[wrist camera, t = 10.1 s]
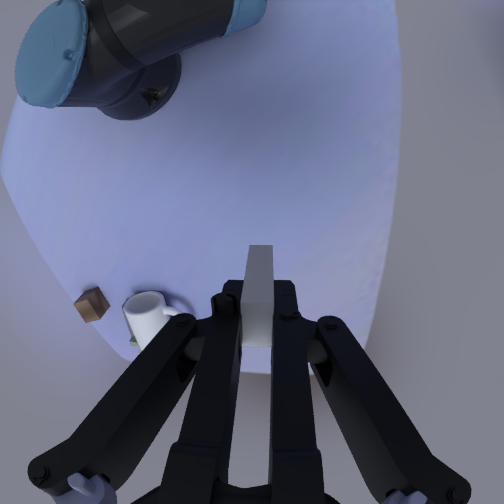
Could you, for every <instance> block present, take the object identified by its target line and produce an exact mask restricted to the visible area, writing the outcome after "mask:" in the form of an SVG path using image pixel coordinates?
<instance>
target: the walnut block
mask: <svg viewBox="0 0 504 504" xmlns="http://www.w3.org/2000/svg"><path fill="white" fill-rule="evenodd" d="M74 306H75V307H76V309H77V310H78V312H79V313H80V315H81V316H82V318H83V319H84V321H85V322H86V323H87V322H91V321H95V320H99V319H101V318H102V316H103V315H104V314H105V312H106V311H107V310H108V308H109V307H110V305H109V303H108V301H107V300H106V298H105V297H104V295H103V293H102V292H101V290H100V288H99V287H96V288H94V289H91V290H88V291H85V292H84V293H83V294H82V295H81V296H80V297H79V298H78V299H77V301H76V302H75V303H74Z"/></svg>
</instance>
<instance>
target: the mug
mask: <svg viewBox="0 0 504 504" xmlns="http://www.w3.org/2000/svg"><path fill="white" fill-rule="evenodd" d="M124 312H125V314H126V317H127V319H128V322H129V324H130V326H131V329H132V331H133V333H134V336H135V338H136V340H137V342H138V345H139V347H140V349H141V351H142V350H143V349H144V348H145V347H146V346H147V345H148V343H149V342H150V341H151V340H152V339H153V338H154V337H155V335H156V334H157V333H158V332H159V331H160V330H161V328H162V327H163V326H164V325H165V324H166V323H167V322H168V320H169V319H170V315H173V316H174V315H176V314H180V313H182V312H181V311H180V310H178V309H176V308H174V307H170V306H166V303H165V300H164V297H163V295H162V294H161V293H159V292H156V291H146V292H142V293H139V294H136V295H134V296H132V297H131V298H130V299H128V300H127V301H126V303H125V305H124Z"/></svg>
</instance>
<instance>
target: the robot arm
mask: <svg viewBox="0 0 504 504" xmlns="http://www.w3.org/2000/svg"><path fill="white" fill-rule="evenodd" d="M266 5H267V0H84V1H81V0H58V1H56V2H54V3H52V4H51V5H50V6H48V7H47V8H46V9H45V10H43V11H42V12H41V13H40V15H39V16H38V17H37V18H36V19H35V20H34V22H33V23H32V24H31V26H30V28H29V29H28V31H27V33H26V34H25V37H24V39H23V41H22V43H21V46H20V49H19V52H18V55H17V59H16V65H15V84H16V88H17V91H18V94H19V96H20V97H21V99H22V100H23V101H24V102H25V103H28V104H30V105H32V106H40V107H46V108H54V107H97V108H98V109H99V110H101V111H102V112H103V113H104V114H106V115H107V116H109V117H111V118H114V119H118V120H138V119H142V118H145V117H147V116H149V115H151V114H153V113H155V112H156V111H157V110H159V109H160V108H161V107H162V106H163V105H164V104H165V103H166V102H167V101H168V100H169V99H170V97H171V96H172V94H173V93H174V91H175V89H176V87H177V85H178V82H179V79H180V73H181V62H180V57H179V55H178V52H180V51H182V50H185V49H187V48H190V47H192V46H195V45H197V44H200V43H203V42H205V41H208V40H211V39H214V38H217V37H220V38H223V37H226V36H227V35H228V34H229V33H232V32H235V31H238V30H241V29H244V28H247V27H250V26H253V25H255V24H256V23H258V22H259V21H260V19H261V18H262V17H263V15H264V13H265V10H266ZM211 306H212V316H211V317H208V318H205V319H199V320H196V318H195V317H194V316H193V315H191V314H189V313H180V314H176V315H174V316H173V317H171V318H170V319H169V320H168V322H167V323H166V324H165V325H164V326H163V327H162V328H161V330H160V331H159V332H158V333H157V334H156V335H155V337H154V338H153V339H152V340H151V341H150V342H149V343H148V345H147V346H146V347H145V348H144V349H143V350H142V352H141V353H140V354H139V355H138V356H137V357H136V359H135V360H134V361H133V362H132V363H131V364H130V366H129V367H128V368H127V369H126V370H125V372H124V373H123V374H122V375H121V376H120V377H119V379H118V380H117V381H116V382H115V383H114V385H113V386H112V387H111V388H110V390H108V392H107V393H106V394H105V395H104V397H103V398H102V399H101V400H100V401H99V402H98V404H97V405H96V406H95V407H94V409H93V410H92V411H91V412H90V413H89V415H88V416H87V417H86V418H85V420H84V421H83V422H82V423H81V424H80V425H79V427H78V428H77V429H76V431H75V432H74V433H73V434H72V435H71V436H70V438H68V439H67V440H65V441H64V442H62V443H60V444H58V445H57V446H55V447H53V448H52V449H50V450H48V451H46V452H45V453H43V454H41V455H39V456H38V457H36V458H34V459H33V460H32V461H31V462H30V464H29V466H28V476H29V479H30V481H31V482H32V483H33V484H34V485H35V486H37V487H38V488H39V489H41V490H43V491H44V492H46V493H48V494H49V495H51V496H52V498H53V499H54V501H55V502H56V504H117V496H116V492H115V491H116V490H118V489H119V488H120V487H121V486H122V485H123V484H124V483H125V482H126V481H127V480H128V478H129V477H130V476H131V474H132V473H133V471H134V470H135V468H136V467H137V465H138V464H139V462H140V461H141V459H142V457H143V456H144V454H145V453H146V451H147V450H148V448H149V447H150V445H151V443H152V442H153V440H154V439H155V437H156V436H157V434H158V432H159V431H160V429H161V428H162V426H163V424H164V423H165V421H166V420H167V418H168V417H169V415H170V413H171V412H172V410H173V409H174V407H175V406H176V404H177V402H178V401H179V399H180V397H181V396H182V394H183V393H184V391H185V389H186V388H187V386H188V385H189V383H190V382H191V380H192V378H193V377H194V375H195V378H194V382H193V386H192V389H191V393H190V397H189V400H188V404H187V408H186V412H185V416H184V420H183V424H182V428H181V432H180V435H179V439H178V441H177V442H175V443H173V444H172V446H171V448H170V451H169V455H168V458H167V462H166V466H165V470H164V474H163V478H162V482H161V485H160V486H158V487H156V488H155V489H153V490H151V491H150V492H148V493H147V494H145V495H144V496H142V497H140V498H139V499H137V500H136V501H134V502H132V503H131V504H340V503H339V502H338V501H337V500H335V499H334V498H333V497H331V496H330V495H328V494H326V493H324V481H323V467H322V458H321V453H320V450H319V449H317V445H316V435H315V423H314V415H313V404H312V395H311V386H310V378H309V369H308V362H310V366H311V368H312V370H313V372H314V374H315V376H316V378H317V381H318V382H319V385H320V387H321V389H322V391H323V393H324V395H325V398H326V400H327V402H328V404H329V406H330V408H331V410H332V412H333V415H334V417H335V419H336V421H337V423H338V425H339V427H340V429H341V432H342V434H343V436H344V438H345V440H346V442H347V444H348V446H349V449H350V451H351V453H352V455H353V457H354V459H355V461H356V464H357V466H358V468H359V470H360V472H361V474H362V477H363V479H364V481H365V483H366V485H367V487H368V489H369V491H370V492H371V494H372V495H373V497H374V498H375V499H376V501H377V502H378V503H379V504H467V503H468V501H469V499H470V497H471V486H470V484H469V483H468V481H467V480H466V479H464V478H463V477H462V476H460V475H459V474H457V473H456V472H455V471H453V470H452V469H451V468H449V467H448V466H447V465H445V464H444V463H443V462H441V461H440V460H438V459H437V458H436V457H435V456H433V455H432V453H431V452H430V450H429V449H428V447H427V445H426V444H425V442H424V441H423V439H422V437H421V436H420V434H419V433H418V431H417V430H416V428H415V426H414V425H413V423H412V422H411V420H410V418H409V417H408V416H407V414H406V412H405V411H404V409H403V408H402V406H401V405H400V403H399V402H398V400H397V398H396V397H395V396H394V394H393V392H392V391H391V389H390V388H389V387H388V385H387V383H386V382H385V380H384V379H383V377H382V376H381V375H380V373H379V372H378V370H377V369H376V367H375V366H374V364H373V363H372V361H371V360H370V358H369V357H368V356H367V354H366V353H365V351H364V350H363V348H362V347H361V346H360V344H359V343H358V341H357V340H356V338H355V337H354V336H353V334H352V333H351V331H350V330H349V328H348V327H347V326H346V324H345V323H344V322H343V321H342V320H341V319H340V318H338V317H335V316H324V317H321V318H320V319H319V320H318V321H317V322H315V321H310V320H307V319H305V318H303V317H302V316H301V314H300V312H299V311H298V305H297V298H296V291H295V285H294V284H293V283H292V282H291V281H290V280H273V245H250V246H249V253H248V259H247V265H246V271H245V277H244V280H228V281H227V282H226V283H225V284H224V286H223V290H222V292H221V293H218V294H216V295H214V296H213V297H212V298H211ZM242 346H250V347H272V349H271V407H270V446H269V474H268V484H267V485H262V486H257V487H250V488H239V487H236V486H233V485H229V484H228V468H229V459H230V450H231V442H232V433H233V425H234V417H235V408H236V400H237V391H238V382H239V374H240V366H241V357H242ZM195 373H196V374H195Z"/></svg>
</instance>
